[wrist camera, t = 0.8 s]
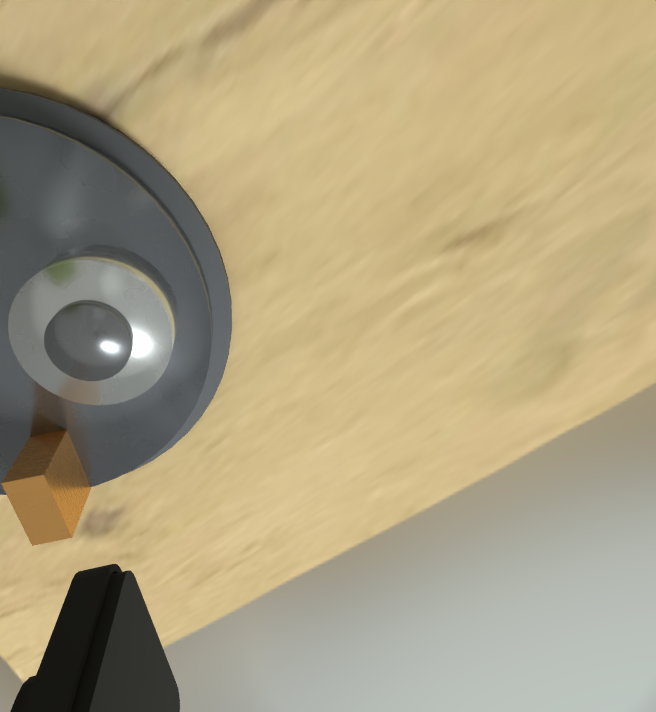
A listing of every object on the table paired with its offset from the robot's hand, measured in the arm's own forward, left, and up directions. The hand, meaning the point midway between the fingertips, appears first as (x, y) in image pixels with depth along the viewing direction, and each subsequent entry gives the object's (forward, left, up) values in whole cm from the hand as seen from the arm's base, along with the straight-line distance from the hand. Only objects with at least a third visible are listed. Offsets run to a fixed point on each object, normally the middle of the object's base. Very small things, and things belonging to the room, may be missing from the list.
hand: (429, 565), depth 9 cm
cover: (+2, -10, -21) cm, 23 cm away
